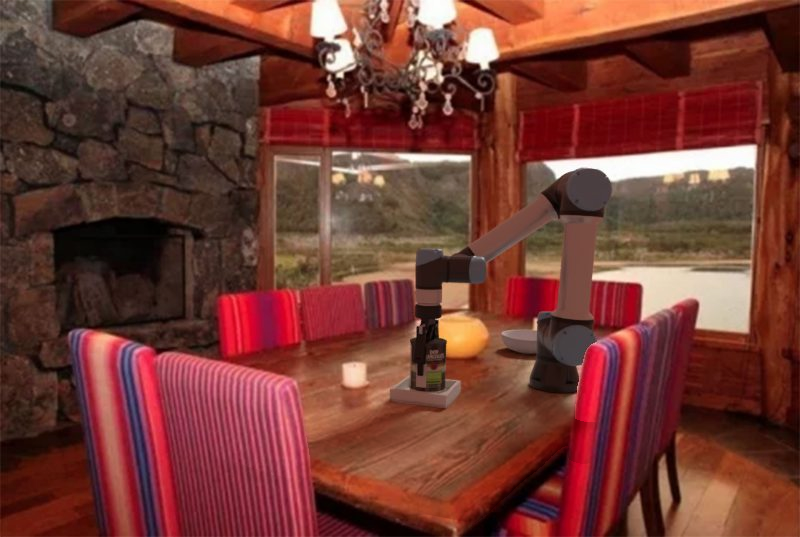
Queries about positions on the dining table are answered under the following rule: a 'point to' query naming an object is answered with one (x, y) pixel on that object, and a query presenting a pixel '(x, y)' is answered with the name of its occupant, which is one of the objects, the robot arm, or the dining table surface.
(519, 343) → the serving bowl
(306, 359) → the dining table surface
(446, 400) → the tray
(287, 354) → the dining table surface
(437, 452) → the dining table surface
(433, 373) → the coffee can
